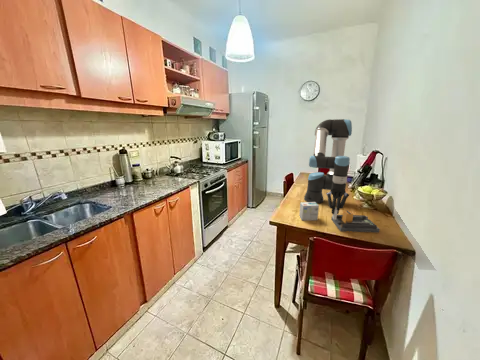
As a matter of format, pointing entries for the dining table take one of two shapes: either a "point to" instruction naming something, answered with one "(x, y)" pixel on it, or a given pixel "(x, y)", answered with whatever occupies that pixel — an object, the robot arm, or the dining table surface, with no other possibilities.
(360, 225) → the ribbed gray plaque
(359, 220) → the breaker panel
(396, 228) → the dining table surface
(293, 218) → the dining table surface
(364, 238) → the dining table surface
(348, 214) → the lever
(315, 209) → the light bulb box
